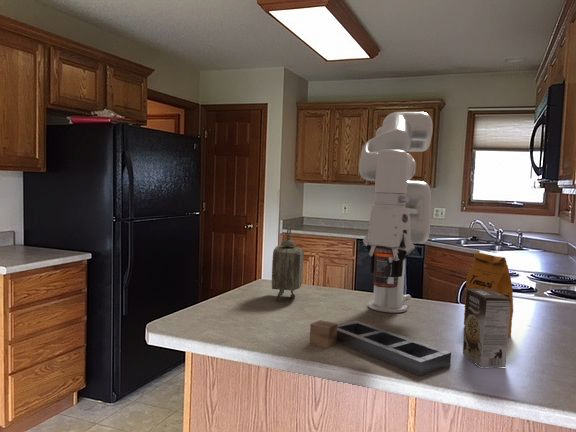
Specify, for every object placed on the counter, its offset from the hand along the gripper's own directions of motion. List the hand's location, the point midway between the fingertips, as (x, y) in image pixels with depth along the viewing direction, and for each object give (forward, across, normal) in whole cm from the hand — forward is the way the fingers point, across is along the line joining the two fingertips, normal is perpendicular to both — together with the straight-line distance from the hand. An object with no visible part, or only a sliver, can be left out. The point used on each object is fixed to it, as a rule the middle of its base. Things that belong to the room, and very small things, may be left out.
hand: (385, 273), depth 116 cm
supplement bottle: (+3, 0, 0) cm, 3 cm away
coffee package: (+18, -7, -37) cm, 41 cm away
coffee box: (+19, -19, -14) cm, 30 cm away
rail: (+18, -2, +1) cm, 19 cm away
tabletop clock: (+18, +52, -10) cm, 56 cm away
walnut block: (+18, +10, +10) cm, 23 cm away
